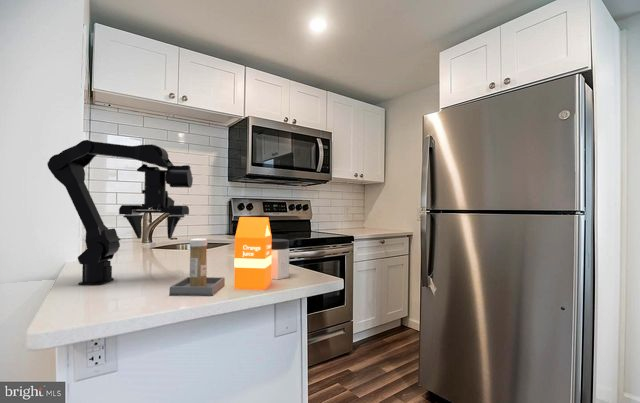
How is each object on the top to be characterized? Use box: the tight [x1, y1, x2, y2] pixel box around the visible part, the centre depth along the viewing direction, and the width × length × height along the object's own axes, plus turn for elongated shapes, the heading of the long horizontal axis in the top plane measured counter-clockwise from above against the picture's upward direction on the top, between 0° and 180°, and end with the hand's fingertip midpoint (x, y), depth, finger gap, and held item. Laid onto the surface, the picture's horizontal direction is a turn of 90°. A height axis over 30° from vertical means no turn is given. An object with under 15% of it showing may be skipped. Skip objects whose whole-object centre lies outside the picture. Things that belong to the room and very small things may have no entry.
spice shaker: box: [189, 237, 208, 287], centre depth 88 cm, size 5×5×14 cm
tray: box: [169, 276, 226, 297], centre depth 88 cm, size 11×11×2 cm
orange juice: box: [233, 216, 273, 291], centre depth 93 cm, size 8×9×20 cm
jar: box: [271, 238, 290, 280], centre depth 105 cm, size 9×8×12 cm
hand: (154, 238), depth 97 cm, fingers open, 9 cm apart
